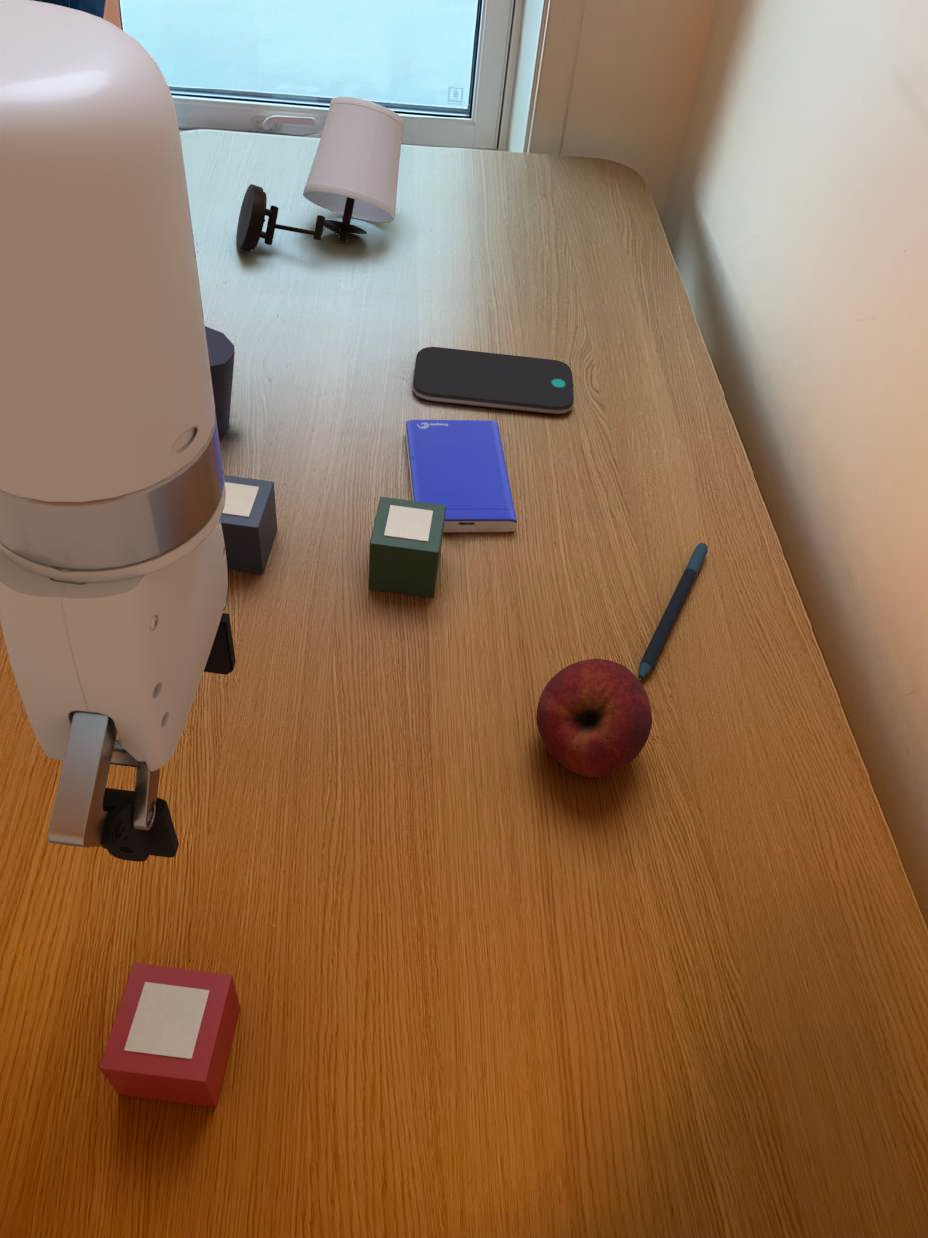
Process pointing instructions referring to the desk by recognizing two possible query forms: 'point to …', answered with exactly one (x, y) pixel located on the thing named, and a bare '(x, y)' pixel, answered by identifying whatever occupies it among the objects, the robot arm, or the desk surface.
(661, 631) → the pen
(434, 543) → the green block
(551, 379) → the smartphone
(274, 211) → the light fixture
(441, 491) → the hard drive
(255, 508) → the slate block
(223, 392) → the speaker
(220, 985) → the red block
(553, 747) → the apple
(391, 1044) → the desk surface
